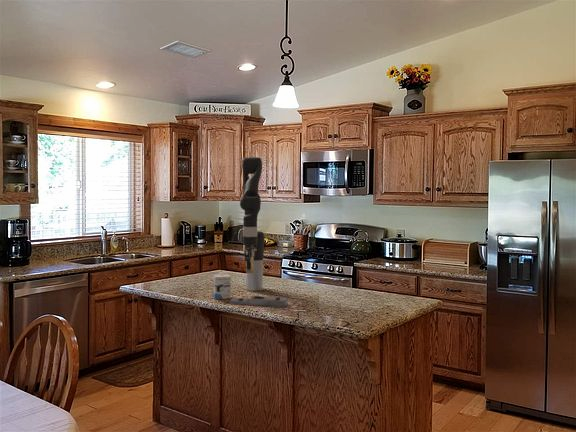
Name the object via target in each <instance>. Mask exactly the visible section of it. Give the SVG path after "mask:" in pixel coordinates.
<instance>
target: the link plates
mask: <svg viewBox="0 0 576 432" xmlns="http://www.w3.org/2000/svg"><path fill="white" fill-rule="evenodd" d="M288 300H289V298H288V297H280V296H262V295H261V296H259V295H253V296H251V298H246V297H245V298H243V297H233V298H232V299H230V300H229V304H230V305H243V306H256V307H257V306H258V307H272V308H286V307H287V306H288V302H289V301H288Z"/></svg>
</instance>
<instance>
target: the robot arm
mask: <svg viewBox="0 0 576 432" xmlns="http://www.w3.org/2000/svg"><path fill="white" fill-rule="evenodd" d="M241 160H242V162H241V170H242V179H243V180H242V181H243V195H242V196H241V199H240V201H239V206H240V208H241V210H243V211H244V216H243V219H242V221H243V224H242V225H243V227H242V245H245V247H246V248H245V249H244V262H245V268H246V269H251V258H252V254H253V253H254V255H253V273H246V290H247V291H253V292H254V291H255V292H256V291H262V290H264V289H263V287H264V286H263V283H264V278H263V277H264V252H265V234H264V232H262V231H258V216H259V212H260V211H261V205H262V201H261V196H260V193H259V184H260V180H261V176H262V172H263V161H262V158H261V157H259V156H258V157H256V156H255V157H254V156H253V157H249V156H248V157H243V158H242V159H241ZM249 175H251V176H249ZM250 255H251V256H250ZM248 258H249V259H248ZM246 269H245V270H246Z"/></svg>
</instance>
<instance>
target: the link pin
mask: <svg viewBox="0 0 576 432" xmlns="http://www.w3.org/2000/svg"><path fill="white" fill-rule="evenodd" d="M253 255H254V253H253V254H252V258H251V269H245V273H246V274H247V273H253ZM250 256H251V255H250ZM248 259H249V258H248Z"/></svg>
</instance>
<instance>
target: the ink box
mask: <svg viewBox="0 0 576 432" xmlns="http://www.w3.org/2000/svg"><path fill="white" fill-rule="evenodd" d="M231 282H232V277H231V275H229V274H214V275H213V290H212V291H213V292H212V293H213V299H214V300H222V299H223V300H225V299H227V298H229V299H231V295H232V294H231V293H232V292H231V289H232V287H231V285H232V283H231Z"/></svg>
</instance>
